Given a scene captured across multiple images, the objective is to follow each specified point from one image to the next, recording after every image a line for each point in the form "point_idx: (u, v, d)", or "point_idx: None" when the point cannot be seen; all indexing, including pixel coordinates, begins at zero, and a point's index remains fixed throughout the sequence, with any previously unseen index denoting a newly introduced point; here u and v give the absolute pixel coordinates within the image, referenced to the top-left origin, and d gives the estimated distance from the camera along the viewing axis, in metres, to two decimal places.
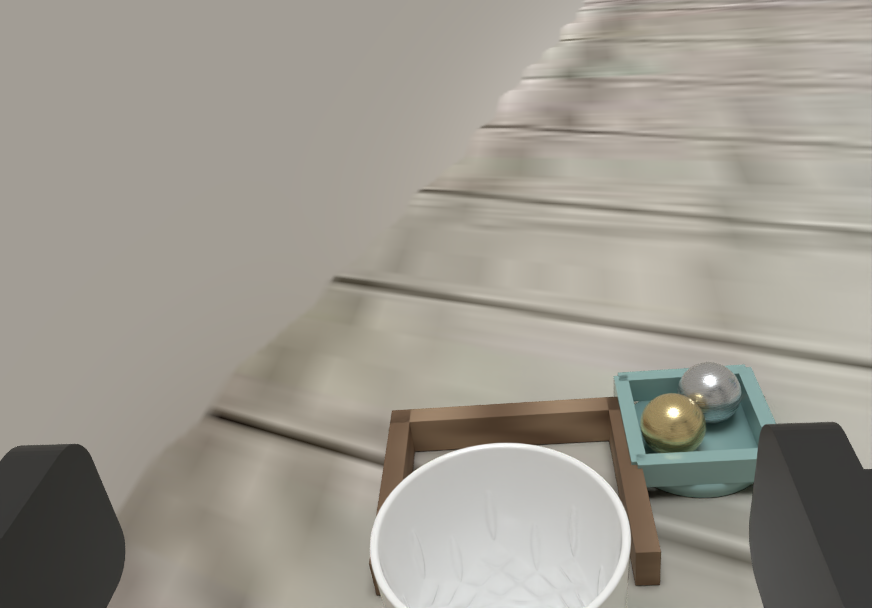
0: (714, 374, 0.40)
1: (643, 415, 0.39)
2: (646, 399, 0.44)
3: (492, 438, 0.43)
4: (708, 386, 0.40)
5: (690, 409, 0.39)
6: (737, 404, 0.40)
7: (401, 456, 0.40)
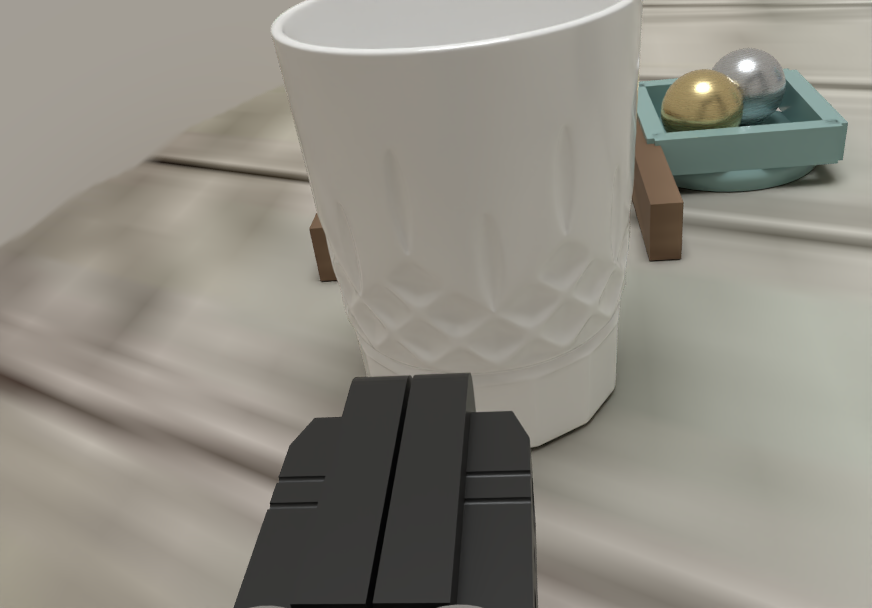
0: (752, 54, 0.32)
1: (666, 94, 0.32)
2: None
3: None
4: (745, 67, 0.32)
5: (725, 79, 0.31)
6: (780, 94, 0.32)
7: None
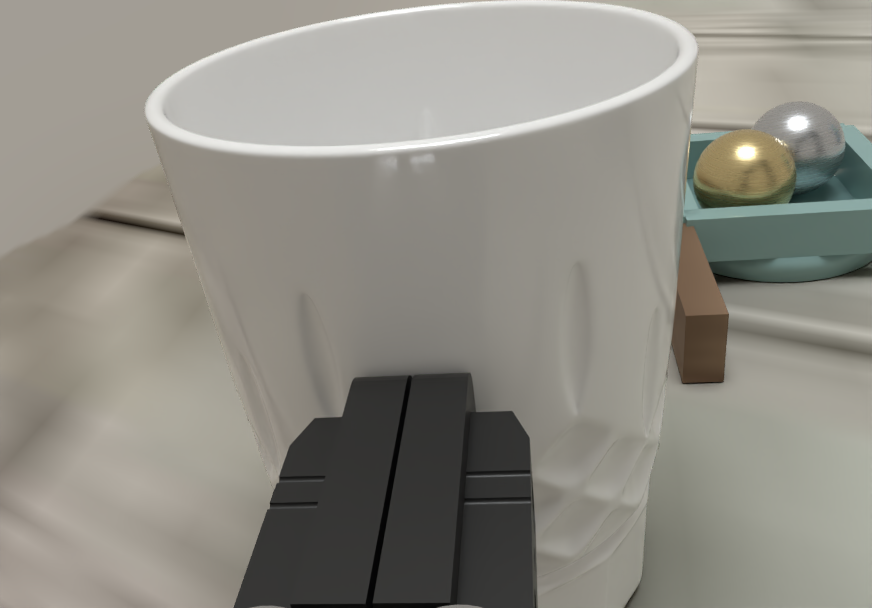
0: (806, 110, 0.26)
1: (700, 158, 0.26)
2: None
3: None
4: (798, 127, 0.26)
5: (776, 144, 0.25)
6: (839, 159, 0.26)
7: None
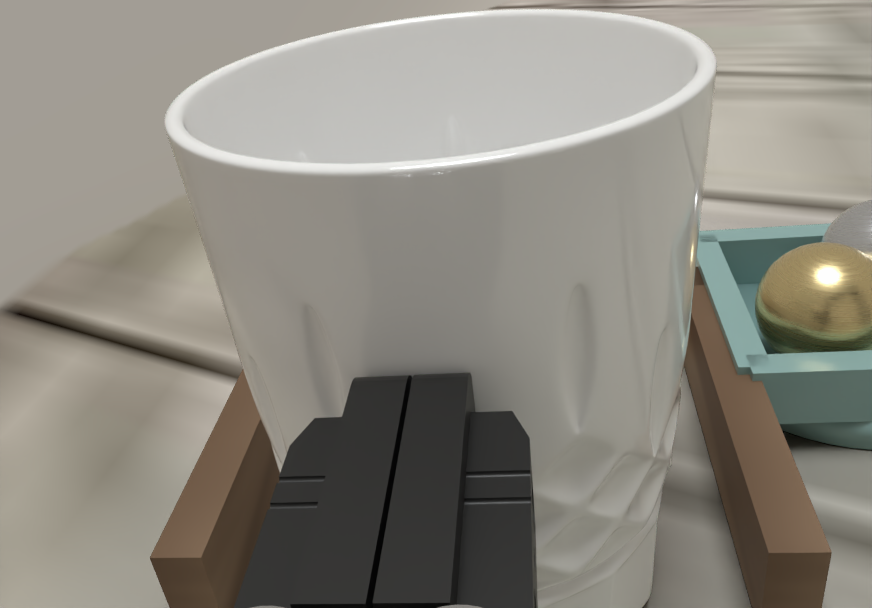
0: None
1: (767, 280, 0.20)
2: (748, 281, 0.24)
3: None
4: None
5: None
6: None
7: None
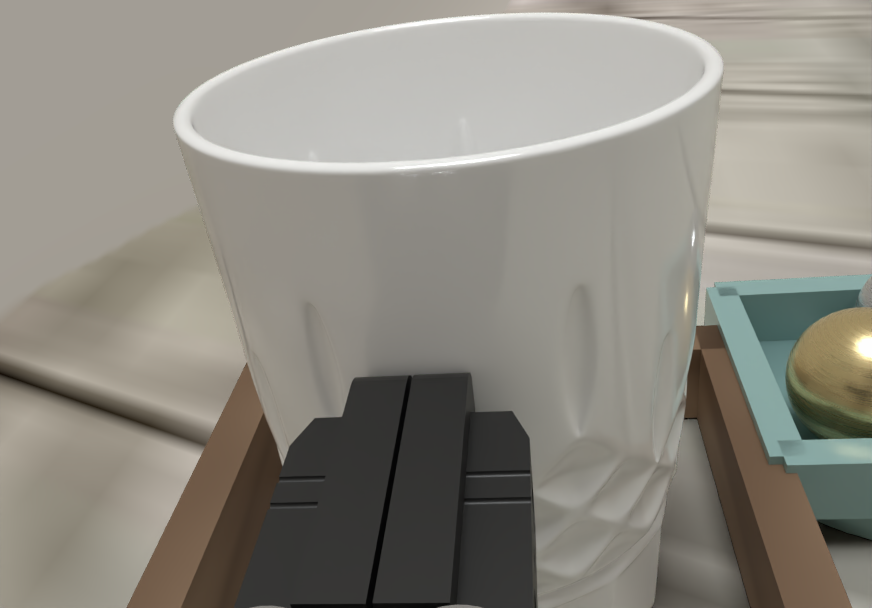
0: None
1: (801, 350, 0.17)
2: (772, 338, 0.21)
3: None
4: None
5: None
6: None
7: (246, 433, 0.19)
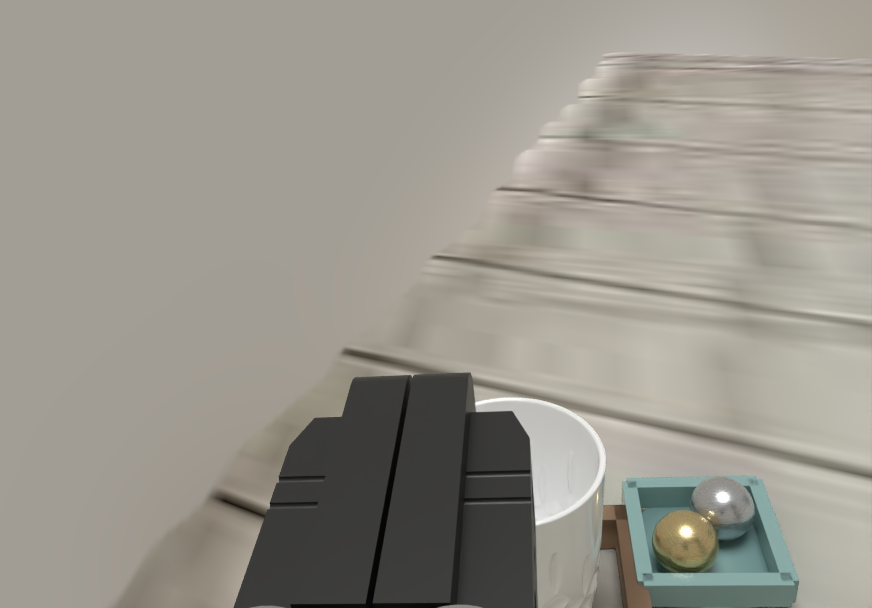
0: (729, 494, 0.39)
1: (657, 530, 0.39)
2: (654, 506, 0.43)
3: None
4: (723, 507, 0.39)
5: (707, 533, 0.38)
6: (749, 525, 0.40)
7: None
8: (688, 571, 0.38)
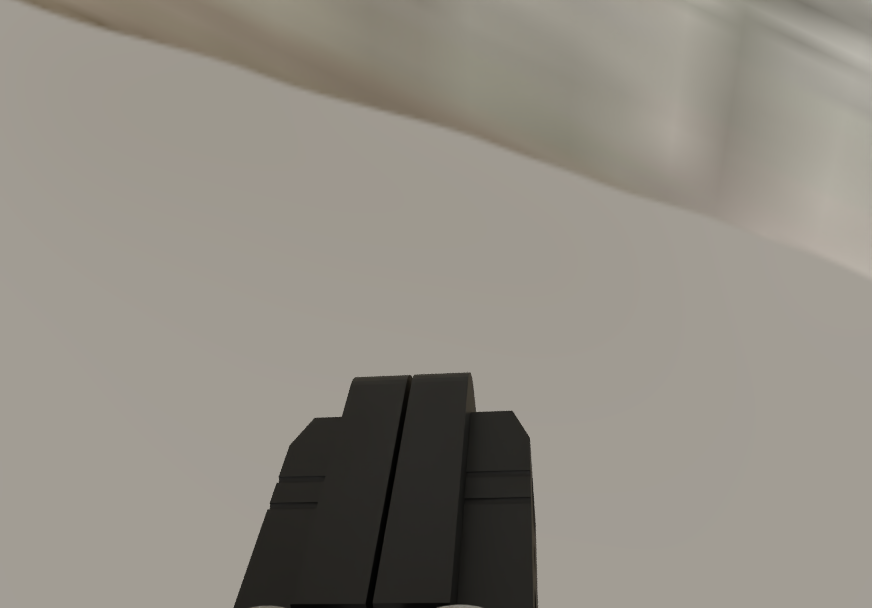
0: None
1: None
2: None
3: None
4: None
5: None
6: None
7: None
8: None
